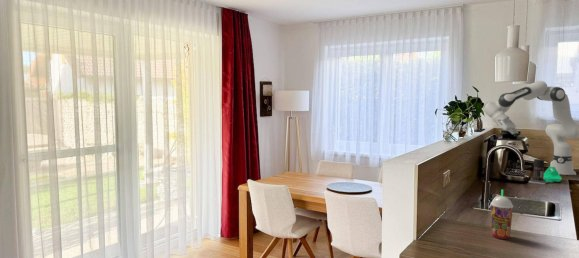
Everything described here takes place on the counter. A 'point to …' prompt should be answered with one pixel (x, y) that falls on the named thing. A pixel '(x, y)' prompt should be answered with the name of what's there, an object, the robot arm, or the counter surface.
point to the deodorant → (538, 169)
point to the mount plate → (538, 181)
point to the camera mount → (552, 175)
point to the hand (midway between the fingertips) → (515, 133)
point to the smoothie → (501, 216)
